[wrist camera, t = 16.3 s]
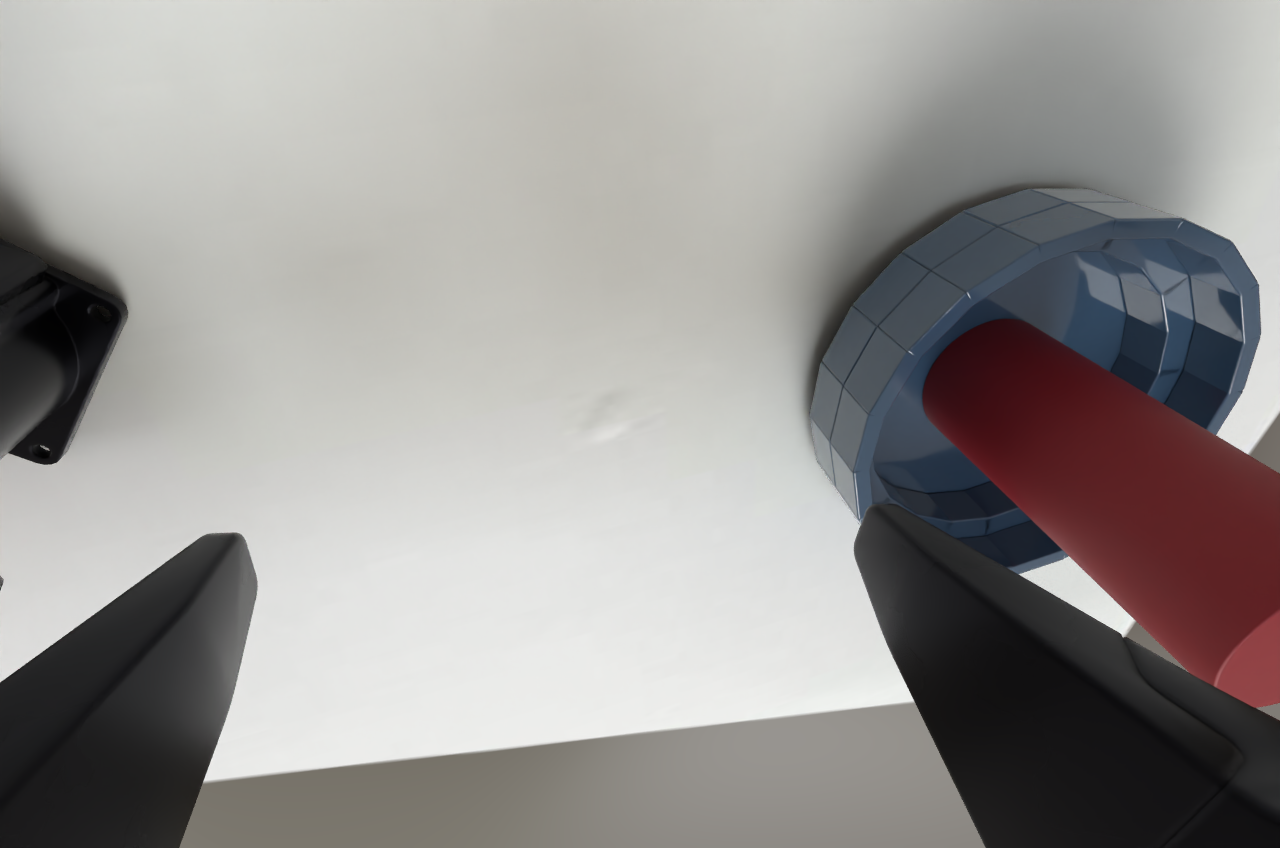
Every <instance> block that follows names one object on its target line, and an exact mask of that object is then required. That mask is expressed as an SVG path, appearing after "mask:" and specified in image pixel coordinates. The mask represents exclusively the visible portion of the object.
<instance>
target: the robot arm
mask: <svg viewBox="0 0 1280 848" xmlns="http://www.w3.org/2000/svg"><path fill="white" fill-rule="evenodd" d="M97 306H102V307H104V308H106V309H107V310H109V312H110V314H111V317H108V316H104V315H103V314H101V313H100V312H99V310H98V309H97ZM127 317H128V310H127V307H126V305H125V304H124V303H123V302H122V300H120V299H119V298H117V297H116V296H114V295H112V294H110V293H108V292H106V291H104V290H102V289H100V288H98V287H95V286H93V285H91V284H89V283H87V282H85V281H83V280H81V279H78V278H76V277H74V276H72V275H70V274H68V273H66V272H64V271H61V270H59V269H57V268H55V267H53V266H51V265H49V264H47V263H44V262H43V261H42V260H41V259H40V258H39V257H38V256H36V255H34V254H32V253H30V252H28V251H26V250H24V249H22V248H19V247H17V246H15V245H13V244H11V243H9V242H7V241H5V240H3V239H0V460H1V459H2V458H3V457H4V456H5V455H6V454H7V453H10V454H13V455H15V456H18V457H21V458H24V459H27V460H30V461H32V462H35V463H39V464H44V465H48V464H54V463H56V462H58V461H59V460H60V459H61V458H62V457H63V456H64V455H65V453H66V452H67V451H68V449H69V447H70V444H71V442H72V440H73V438H74V435H75V433H76V431H77V429H78V427H79V424H80V422H81V420H82V418H83V415H84V413H85V411H86V409H87V407H88V404H89V402H90V400H91V398H92V395H93V393H94V391H95V389H96V387H97V384H98V382H99V380H100V378H101V375H102V373H103V371H104V369H105V367H106V364H107V362H108V360H109V358H110V355H111V353H112V351H113V349H114V347H115V344H116V342H117V340H118V338H119V335H120V333H121V331H122V329H123V327H124V324H125V322H126V320H127ZM40 445H43V446H45V447H47V448H49V450H50V451H48V450H45V449H43V448H42V447H41V446H40ZM854 555H855V559H856V562H857V565H858V567H859V570H860V573H861V576H862V578H863V581H864V584H865V587H866V589H867V592H868V595H869V598H870V600H871V603H872V606H873V609H874V611H875V614H876V617H877V620H878V622H879V625H880V628H881V630H882V633H883V635H884V638H885V640H886V643H887V645H888V647H889V649H890V652H891V654H892V656H893V658H894V660H895V662H896V664H897V666H898V668H899V670H900V673H901V675H902V677H903V679H904V681H905V683H906V685H907V687H908V689H909V691H910V693H911V695H912V697H913V699H914V701H915V703H916V705H917V707H918V709H919V712H920V714H921V716H922V718H923V720H924V722H925V724H926V726H927V728H928V730H929V732H930V734H931V736H932V738H933V740H934V742H935V745H936V747H937V749H938V751H939V753H940V755H941V757H942V759H943V761H944V763H945V765H946V767H947V769H948V771H949V773H950V775H951V777H952V779H953V782H954V784H955V785H956V788H957V789H958V792H959V794H960V796H961V798H962V800H963V802H964V804H965V806H966V808H967V810H968V812H969V814H970V816H971V819H972V820H973V823H974V825H975V827H976V828H977V831H978V833H979V835H980V837H981V839H982V841H983V843H984V845H985V847H986V848H1280V721H1279V720H1277V719H1276V718H1274V717H1272V716H1270V715H1268V714H1266V713H1264V712H1262V711H1260V710H1258V709H1256V708H1254V707H1252V706H1251V705H1249V704H1247V703H1245V702H1243V701H1241V700H1239V699H1237V698H1235V697H1233V696H1232V695H1230V694H1228V693H1226V692H1224V691H1222V690H1220V689H1218V688H1216V687H1215V686H1213V685H1211V684H1209V683H1207V682H1205V681H1203V680H1201V679H1199V678H1198V677H1196V676H1194V675H1192V674H1190V673H1189V672H1187V671H1185V670H1183V669H1181V668H1180V667H1178V666H1176V665H1174V664H1173V663H1171V662H1169V661H1167V660H1165V659H1164V658H1162V657H1160V656H1158V655H1157V654H1155V653H1153V652H1151V651H1150V650H1148V649H1146V648H1144V647H1143V646H1141V645H1139V644H1138V643H1136V642H1134V641H1132V640H1131V639H1129V638H1127V637H1124V638H1123V637H1122V635H1121V634H1120V633H1119V632H1117V631H1115V630H1113V629H1112V628H1110V627H1108V626H1106V625H1105V624H1103V623H1101V622H1100V621H1098V620H1096V619H1094V618H1093V617H1091V616H1089V615H1087V614H1086V613H1084V612H1082V611H1081V610H1079V609H1077V608H1075V607H1074V606H1072V605H1070V604H1068V603H1067V602H1065V601H1063V600H1062V599H1060V598H1058V597H1056V596H1055V595H1053V594H1051V593H1049V592H1048V591H1046V590H1044V589H1043V588H1041V587H1039V586H1037V585H1036V584H1034V583H1032V582H1030V581H1029V580H1027V579H1025V578H1024V577H1022V576H1020V575H1018V574H1017V573H1015V572H1013V571H1011V570H1010V569H1008V568H1006V567H1005V566H1003V565H1001V564H999V563H998V562H996V561H994V560H992V559H991V558H989V557H987V556H986V555H984V554H982V553H980V552H979V551H977V550H975V549H973V548H972V547H970V546H968V545H967V544H965V543H963V542H961V541H960V540H958V539H956V538H954V537H953V536H951V535H949V534H948V533H946V532H944V531H942V530H941V529H939V528H937V527H935V526H934V525H932V524H930V523H929V522H927V521H925V520H923V519H922V518H920V517H918V516H917V515H915V514H913V513H911V512H910V511H908V510H906V509H904V508H903V507H901V506H899V505H897V504H893V503H887V504H873V505H870V506H869V507H868V508H867V510H866V512H865V514H864V517H863V520H862V523H861V526H860V528H859V531H858V534H857V537H856V540H855V543H854ZM2 585H3V578H2V577H1V576H0V590H1V587H2ZM256 595H257V577H256V573H255V570H254V567H253V563H252V560H251V557H250V553H249V550H248V547H247V543H246V541H245V539H244V537H243V536H242V535H241V534H239V533H212V534H206V535H204V536H202V537H200V538H199V539H197V540H196V541H195V542H193V543H192V544H191V545H189V546H188V547H186V548H185V549H184V550H182V551H181V552H180V553H178V554H177V555H175V556H174V557H173V558H171V559H170V560H169V561H167V562H166V563H164V564H163V565H162V566H160V567H159V568H158V569H156V570H155V571H153V572H152V573H151V574H149V575H148V576H146V577H145V578H144V579H142V580H141V581H140V582H138V583H137V584H135V585H134V586H133V587H131V588H130V589H129V590H127V591H126V592H124V593H123V594H122V595H120V596H119V597H118V598H116V599H115V600H113V601H112V602H111V603H109V604H108V605H107V606H105V607H104V608H102V609H101V610H100V611H98V612H97V613H95V614H94V615H93V616H91V617H90V618H89V619H87V620H86V621H84V622H83V623H82V624H80V625H79V626H78V627H76V628H75V629H73V630H72V631H71V632H69V633H68V634H67V635H65V636H64V637H62V638H61V639H60V640H58V641H57V642H56V643H54V644H53V645H51V646H50V647H49V648H47V649H46V650H45V651H43V652H42V653H40V654H39V655H38V656H36V657H35V658H33V659H32V660H31V661H29V662H28V663H27V664H25V665H24V666H22V667H21V668H20V669H18V670H17V671H16V672H14V673H13V674H11V675H10V676H9V677H7V678H6V679H5V680H3V681H2V682H0V848H179V847H180V844H181V841H182V838H183V836H184V833H185V830H186V827H187V825H188V822H189V819H190V816H191V814H192V811H193V808H194V805H195V803H196V800H197V797H198V794H199V792H200V789H201V786H202V783H203V781H204V778H205V775H206V772H207V770H208V767H209V764H210V761H211V759H212V756H213V753H214V750H215V748H216V745H217V742H218V739H219V737H220V734H221V731H222V728H223V725H224V723H225V720H226V717H227V714H228V711H229V708H230V705H231V701H232V697H233V694H234V690H235V686H236V682H237V677H238V673H239V669H240V665H241V660H242V656H243V652H244V647H245V643H246V639H247V634H248V630H249V626H250V622H251V617H252V613H253V609H254V604H255V600H256Z"/></svg>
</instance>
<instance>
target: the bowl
mask: <svg viewBox="0 0 1280 848" xmlns="http://www.w3.org/2000/svg"><path fill="white" fill-rule="evenodd" d="M853 305H854V306H851V307H850V309H849V311H848V313H847V315H846V317H845V318H844V320H843V322H842V324H841V326H840V328H839V329H838V331H837V333H836V335H835V337H834V339H833V340H832V342H831V344H830V346H829V348H828V350H827V352H826V353H825V355H824V357H823V359H822V362H821V363H820V368H819V373H818V377H817V382H816V387H815V392H814V396H813V401H812V406H811V411H810V420H811V427H812V433H813V440H814V447H815V454H816V459H817V462H818V464H819V465H820V467H821V468H822V470H823V471H824V473H825V474H826V476H827V477H828V479H829V480H830V482H831V484H832V485H833V487H834V488H835V490H836V491H837V493H838V494H839V496H840V497H841V499H842V500H843V501H844V503H845V504H846V506H847V507H848V509H849V510H850V512H851V513H852V514H853V516H854V517H855V519H856V520H857V522H858V523H859V525H860V526H861V523H862V520H863V517H864V514H865V512H866V510H867V508H868V507H869V506H870V505H873V504H887V503H893V504H897V505H899V506H901V507H903V508H904V509H906V510H908V511H910V512H911V513H913V514H915V515H917V516H918V517H920V518H922V519H923V520H925V521H927V522H929V523H930V524H932V525H934V526H935V527H937V528H939V529H941V530H942V531H944V532H946V533H948V534H949V535H951V536H953V537H954V538H956V539H958V540H960V541H961V542H963V543H965V544H967V545H968V546H970V547H972V548H973V549H975V550H977V551H979V552H980V553H982V554H984V555H986V556H987V557H989V558H991V559H992V560H994V561H996V562H998V563H999V564H1001V565H1003V566H1005V567H1006V568H1008V569H1010V570H1011V571H1013V572H1015V573H1017V574H1021V573H1024V572H1027V571H1030V570H1033V569H1036V568H1039V567H1042V566H1045V565H1048V564H1051V563H1054V562H1057V561H1060V560H1063V559H1064V558H1066V557H1068V555H1067V554H1066V553H1065V552H1064V551H1063V550H1062V549H1061V548H1060V547H1059V546H1058V545H1057V544H1056V543H1055V542H1054V541H1053V540H1052V539H1051V538H1050V537H1049V536H1048V535H1047V534H1046V533H1045V532H1044V531H1043V530H1042V529H1041V528H1040V527H1039V526H1037V525H1036V524H1035V523H1034V522H1033V521H1032V520H1031V519H1030V518H1029V517H1028V516H1027V515H1026V514H1025V513H1024V512H1023V511H1022V510H1021V509H1020V508H1019V507H1018V506H1017V505H1016V504H1015V503H1014V502H1013V501H1012V500H1011V499H1010V498H1009V497H1008V496H1006V495H1005V494H1004V493H1003V492H1002V491H1001V490H1000V489H999V488H998V487H997V486H996V485H995V484H994V483H993V482H992V481H991V480H990V479H989V478H988V477H987V476H986V475H985V474H984V473H983V472H982V471H981V470H980V469H979V468H978V467H977V466H975V465H974V464H973V463H972V462H971V461H970V460H969V459H968V458H967V457H966V456H965V455H964V454H963V453H962V452H961V451H960V450H959V449H958V448H957V447H956V446H955V445H954V444H953V443H952V442H951V441H950V440H949V439H948V438H947V437H946V436H944V435H943V434H942V433H941V432H940V431H939V430H938V429H937V428H936V427H935V426H934V425H933V424H932V423H931V422H930V420H929V419H928V417H927V416H926V414H925V411H924V408H923V401H922V399H923V388H924V384H925V381H926V378H927V376H928V373H929V371H930V369H931V367H932V366H933V364H934V362H935V361H936V360H937V358H938V357H939V356H940V354H941V353H942V352H943V351H944V350H945V349H946V348H947V347H948V346H949V345H950V344H951V343H952V342H953V341H954V340H956V339H957V338H958V337H959V336H961V335H962V334H964V333H965V332H967V331H969V330H970V329H972V328H974V327H976V326H978V325H981V324H983V323H986V322H990V321H993V320H999V319H1017V320H1021V321H1025V322H1027V323H1029V324H1031V325H1033V326H1034V327H1036V328H1038V329H1039V330H1041V331H1043V332H1044V333H1046V334H1048V335H1049V336H1051V337H1053V338H1054V339H1056V340H1058V341H1059V342H1061V343H1063V344H1064V345H1066V346H1068V347H1069V348H1071V349H1073V350H1074V351H1076V352H1078V353H1079V354H1081V355H1083V356H1084V357H1086V358H1088V359H1089V360H1091V361H1093V362H1094V363H1096V364H1098V365H1099V366H1101V367H1103V368H1104V369H1106V370H1108V371H1109V372H1111V373H1113V374H1114V375H1116V376H1118V377H1119V378H1121V379H1123V380H1124V381H1126V382H1128V383H1129V384H1131V385H1133V386H1134V387H1136V388H1138V389H1139V390H1141V391H1143V392H1144V393H1146V394H1148V395H1149V396H1151V397H1153V398H1154V399H1156V400H1158V401H1159V402H1161V403H1163V404H1164V405H1166V406H1168V407H1169V408H1171V409H1173V410H1174V411H1176V412H1178V413H1179V414H1181V415H1183V416H1184V417H1186V418H1188V419H1189V420H1191V421H1193V422H1194V423H1196V424H1198V425H1199V426H1201V427H1203V428H1204V429H1206V430H1208V431H1209V432H1211V433H1213V434H1214V435H1216V434H1217V433H1218V431H1219V429H1220V428H1221V426H1222V424H1223V423H1224V421H1225V420H1226V418H1227V416H1228V415H1229V413H1230V411H1231V410H1232V408H1233V407H1234V405H1235V403H1236V402H1237V400H1238V398H1239V397H1240V395H1241V394H1242V390H1243V389H1244V387H1245V384H1246V381H1247V378H1248V374H1249V371H1250V368H1251V365H1252V362H1253V359H1254V356H1255V352H1256V349H1257V346H1258V343H1259V340H1260V335H1261V321H1260V300H1259V284H1258V282H1257V280H1256V279H1255V277H1254V275H1253V274H1252V272H1251V271H1250V269H1249V267H1248V266H1247V264H1246V263H1245V261H1244V259H1243V258H1242V256H1241V255H1240V253H1239V251H1238V250H1237V248H1236V247H1235V245H1234V243H1233V242H1231V241H1230V240H1229V239H1227V238H1225V237H1223V236H1220V235H1218V234H1216V233H1214V232H1212V231H1210V230H1208V229H1206V228H1204V227H1201V226H1199V225H1197V224H1195V223H1193V222H1191V221H1189V220H1187V219H1185V218H1182V217H1178V216H1175V215H1172V214H1169V213H1165V212H1162V211H1159V210H1156V209H1153V208H1149V207H1146V206H1143V205H1140V204H1136V203H1133V202H1130V201H1127V200H1124V199H1120V198H1117V197H1114V196H1111V195H1108V194H1104V193H1101V192H1098V191H1095V190H1091V189H1025V190H1022V191H1019V192H1016V193H1013V194H1010V195H1007V196H1004V197H1001V198H998V199H995V200H992V201H989V202H986V203H983V204H980V205H977V206H975V207H972V208H969V209H966V210H963V211H962V212H960V213H958V214H957V215H955V216H954V217H952V218H951V219H949V220H948V221H946V222H945V223H943V224H942V225H940V226H939V227H937V228H936V229H934V230H933V231H931V232H930V233H928V234H927V235H925V236H924V237H922V238H921V239H919V240H918V241H916V242H915V243H913V244H912V245H910V246H909V247H907V248H906V249H904V250H903V251H902V253H900V254H898V255H897V256H896V258H895V259H894V260H893V261H892V262H891V263H890V264H889V265H888V266H887V267H886V268H885V269H884V271H883V272H882V273H881V274H880V275H879V276H878V277H877V278H876V279H875V280H874V281H873V282H872V284H871V285H870V286H869V287H868V288H867V289H866V290H865V291H864V292H863V293H862V294H861V296H860V297H859V298H858V299H857V300H856V301H855V302H854V303H853Z"/></svg>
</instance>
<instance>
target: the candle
mask: <svg viewBox="0 0 1280 848" xmlns="http://www.w3.org/2000/svg"><path fill="white" fill-rule="evenodd" d="M922 401H923V408H924V411H925V414H926V416H927V417H928V419H929V420H930V422H931V423H932V424H933V425H934V426H935V427H936V428H937V429H938V430H939V431H940V432H941V433H942V434H943V435H944V436H946V437H947V438H948V439H949V440H950V441H951V442H952V443H953V444H954V445H955V446H956V447H957V448H958V449H959V450H960V451H961V452H962V453H963V454H964V455H965V456H966V457H967V458H968V459H969V460H970V461H971V462H972V463H973V464H974V465H975V466H977V467H978V468H979V469H980V470H981V471H982V472H983V473H984V474H985V475H986V476H987V477H988V478H989V479H990V480H991V481H992V482H993V483H994V484H995V485H996V486H997V487H998V488H999V489H1000V490H1001V491H1002V492H1003V493H1004V494H1005V495H1006V496H1008V497H1009V498H1010V499H1011V500H1012V501H1013V502H1014V503H1015V504H1016V505H1017V506H1018V507H1019V508H1020V509H1021V510H1022V511H1023V512H1024V513H1025V514H1026V515H1027V516H1028V517H1029V518H1030V519H1031V520H1032V521H1033V522H1034V523H1035V524H1036V525H1037V526H1039V527H1040V528H1041V529H1042V530H1043V531H1044V532H1045V533H1046V534H1047V535H1048V536H1049V537H1050V538H1051V539H1052V540H1053V541H1054V542H1055V543H1056V544H1057V545H1058V546H1059V547H1060V548H1061V549H1062V550H1063V551H1064V552H1065V553H1066V554H1067V555H1068V556H1070V557H1071V558H1072V559H1073V560H1074V561H1075V562H1076V563H1077V564H1078V565H1079V566H1080V567H1081V568H1082V569H1083V570H1084V571H1085V572H1086V573H1087V574H1088V575H1089V576H1090V577H1091V578H1092V579H1093V580H1094V581H1095V582H1096V583H1097V584H1098V585H1099V586H1101V587H1102V588H1103V589H1104V590H1105V591H1106V592H1107V593H1108V594H1109V595H1110V596H1111V597H1112V598H1113V599H1114V600H1115V601H1116V602H1117V603H1118V604H1119V605H1120V606H1121V607H1122V608H1123V609H1124V610H1125V611H1126V612H1127V613H1128V614H1129V615H1130V616H1132V617H1133V618H1134V619H1135V620H1136V621H1137V622H1138V623H1139V624H1140V625H1141V626H1142V627H1143V628H1144V629H1145V630H1146V631H1147V632H1148V633H1149V634H1150V635H1151V636H1152V637H1153V638H1154V639H1155V640H1156V641H1157V642H1159V644H1160V645H1162V646H1163V647H1164V648H1165V649H1166V650H1167V651H1168V652H1169V653H1170V654H1171V655H1172V656H1173V657H1174V658H1175V659H1176V660H1177V661H1178V662H1179V663H1180V664H1181V665H1182V666H1183V667H1184V668H1185V669H1187V671H1188V672H1189V673H1190V674H1192V675H1194V676H1196V677H1198V678H1199V679H1201V680H1203V681H1205V682H1207V683H1209V684H1211V685H1213V686H1215V687H1216V688H1218V689H1220V690H1222V691H1224V692H1226V693H1228V694H1230V695H1232V696H1233V697H1235V698H1237V699H1239V700H1241V701H1243V702H1245V703H1247V704H1249V705H1251V706H1252V707H1254V708H1257V707H1263V706H1268V705H1273V704H1277V703H1280V474H1279V473H1277V472H1276V471H1274V470H1272V469H1270V468H1269V467H1268V466H1266V465H1264V464H1263V463H1261V462H1259V461H1258V460H1256V459H1254V458H1253V457H1251V456H1249V455H1248V454H1246V453H1244V452H1243V451H1241V450H1239V449H1238V448H1236V447H1234V446H1233V445H1231V444H1229V443H1228V442H1226V441H1224V440H1223V439H1221V438H1219V437H1218V436H1216V435H1214V434H1213V433H1211V432H1209V431H1208V430H1206V429H1204V428H1203V427H1201V426H1199V425H1198V424H1196V423H1194V422H1193V421H1191V420H1189V419H1188V418H1186V417H1184V416H1183V415H1181V414H1179V413H1178V412H1176V411H1174V410H1173V409H1171V408H1169V407H1168V406H1166V405H1164V404H1163V403H1161V402H1159V401H1158V400H1156V399H1154V398H1153V397H1151V396H1149V395H1148V394H1146V393H1144V392H1143V391H1141V390H1139V389H1138V388H1136V387H1134V386H1133V385H1131V384H1129V383H1128V382H1126V381H1124V380H1123V379H1121V378H1119V377H1118V376H1116V375H1114V374H1113V373H1111V372H1109V371H1108V370H1106V369H1104V368H1103V367H1101V366H1099V365H1098V364H1096V363H1094V362H1093V361H1091V360H1089V359H1088V358H1086V357H1084V356H1083V355H1081V354H1079V353H1078V352H1076V351H1074V350H1073V349H1071V348H1069V347H1068V346H1066V345H1064V344H1063V343H1061V342H1059V341H1058V340H1056V339H1054V338H1053V337H1051V336H1049V335H1048V334H1046V333H1044V332H1043V331H1041V330H1039V329H1038V328H1036V327H1034V326H1033V325H1031V324H1029V323H1027V322H1025V321H1021V320H1017V319H999V320H993V321H990V322H986V323H983V324H981V325H978V326H976V327H974V328H972V329H970V330H969V331H967V332H965V333H964V334H962V335H961V336H959V337H958V338H957V339H956V340H954V341H953V342H952V343H951V344H950V345H949V346H948V347H947V348H946V349H945V350H944V351H943V352H942V353H941V354H940V356H939V357H938V358H937V360H936V361H935V362H934V364H933V366H932V367H931V369H930V371H929V373H928V376H927V378H926V381H925V384H924V388H923V399H922Z"/></svg>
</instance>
